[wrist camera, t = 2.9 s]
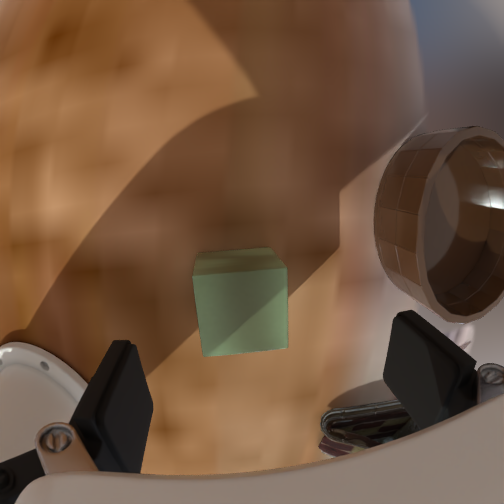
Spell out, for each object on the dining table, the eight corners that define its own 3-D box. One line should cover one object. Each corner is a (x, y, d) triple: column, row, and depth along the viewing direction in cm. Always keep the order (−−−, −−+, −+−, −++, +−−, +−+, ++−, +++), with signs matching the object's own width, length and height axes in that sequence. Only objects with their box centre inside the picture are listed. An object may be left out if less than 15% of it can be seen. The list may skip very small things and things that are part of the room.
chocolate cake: (290, 456, 24) (384, 512, 18) (312, 426, 21) (425, 491, 15) (338, 400, 31) (417, 447, 25) (361, 363, 28) (453, 415, 21)
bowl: (368, 310, 21) (403, 342, 16) (370, 122, 18) (414, 110, 13) (480, 285, 22) (516, 304, 17) (488, 143, 19) (529, 143, 14)
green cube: (204, 319, 19) (203, 357, 15) (196, 252, 18) (192, 275, 14) (272, 313, 20) (288, 348, 15) (270, 246, 19) (287, 267, 14)
